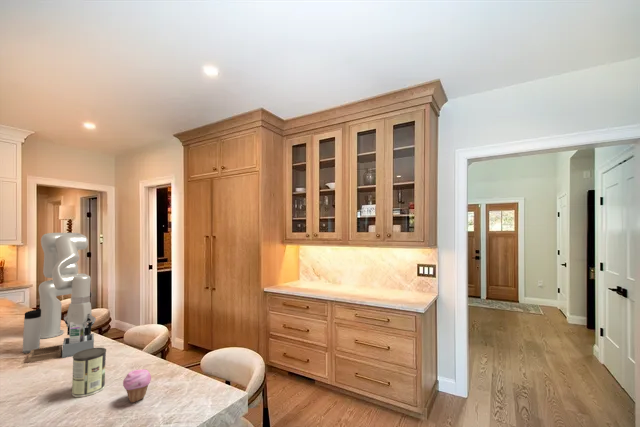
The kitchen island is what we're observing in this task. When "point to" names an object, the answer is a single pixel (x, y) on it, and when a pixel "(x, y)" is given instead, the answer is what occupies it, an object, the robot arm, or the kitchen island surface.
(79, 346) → the bin
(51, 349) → the socket collar
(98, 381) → the coffee can
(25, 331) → the travel mug
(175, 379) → the kitchen island surface
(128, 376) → the cupcake
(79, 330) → the syrup box
